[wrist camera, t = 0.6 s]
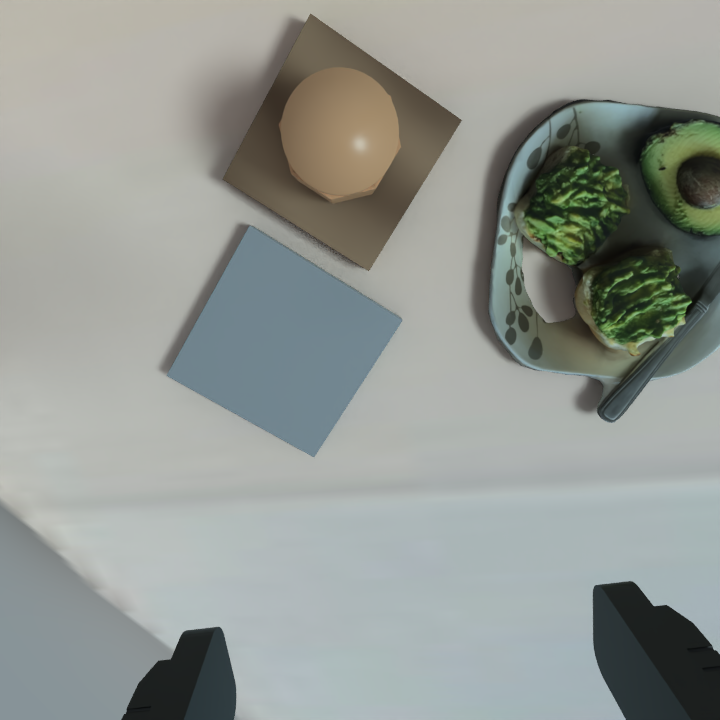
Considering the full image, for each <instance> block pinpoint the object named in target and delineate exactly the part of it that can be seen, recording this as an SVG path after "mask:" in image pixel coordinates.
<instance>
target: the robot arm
mask: <svg viewBox="0 0 720 720" xmlns="http://www.w3.org/2000/svg"><path fill="white" fill-rule="evenodd" d="M593 643H594V651H595V656H596V660H597V663H598V666H599V669H600V671H601V674H602V676H603V678H604V680H605V682H606V684H607V685H608V687H609V689H610V691H611V693H612V695H613V696H614V698H615V700H616V702H617V704H618V706H619V707H620V709H621V711H622V713H623V715H624V717H625V718H626V720H720V654H719V653H718V652H717V651H716V650H715V651H714V650H713V647H712V645H711V644H710V642H709V641H708V640H707V639H706V638H705V637H704V635H703V634H702V633H701V632H700V631H699V629H698V628H697V627H696V626H695V625H694V624H693V623H692V622H691V621H689V620H688V619H686V618H685V617H683V616H682V615H681V614H679V613H678V612H676V611H675V610H673V609H672V608H670V607H669V606H667V605H662V606H653V605H652V604H651V602H650V601H649V600H648V599H647V597H646V596H645V595H644V593H643V592H642V591H641V590H640V588H639V587H638V586H637V585H636V584H635V583H634V582H632V581H628V582H619V583H611V584H602V585H596V586H595V587H594V589H593ZM235 709H236V684H235V679H234V675H233V671H232V667H231V662H230V658H229V654H228V650H227V646H226V641H225V637H224V633H223V631H222V629H221V628H220V627H213V628H205V629H196V630H187V631H184V632H183V633H182V635H181V637H180V639H179V642H178V644H177V646H176V649H175V651H174V653H173V656H172V658H171V660H162V661H158V662H157V663H156V664H155V665H154V667H153V668H152V669H151V670H150V671H149V672H148V673H147V674H146V676H145V677H144V678H143V679H142V680H141V681H140V682H139V684H138V686H137V688H136V690H135V692H134V694H133V697H132V698H131V701H130V703H129V705H128V707H127V712H126V714H124V716H123V718H122V720H234V716H235Z"/></svg>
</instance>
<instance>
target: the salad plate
mask: <svg viewBox="0 0 720 720" xmlns="http://www.w3.org/2000/svg"><path fill="white" fill-rule="evenodd" d="M524 236H525V237H526V238H527V239H528V240H529V241H530V242H531V243H533V244H534V245H536V246H537V247H538V248H540V249H541V250H543V251H544V252H545V253H547V254H548V255H549V256H550V257H553V258H555V259H556V260H558V261H560V262H563V263H565V265H567V266H568V267H570V268H571V269H572V272H573V276H574V279H575V282H576V285H577V288H576V290H575V294H574V296H575V297H574V298H573V303H574V306H575V309H576V314H575V316H574V317H573V318H571V319H568V320H565V321H561V322H553V323H546V322H545V321H544V320H543V318H542V317H541V316H540V315H539V314H538V313H537V312H536V310H535V309H534V307H533V305H532V303H531V300H530V298H529V296H528V294H527V292H526V289H525V286H524V275H523V272H522V260H523V255H522V249H523V237H524ZM678 274H679V279H678V278H677V275H678ZM489 315H490V319H491V322H492V325H493V327H494V330H495V333H496V336H497V339H498V340H499V342H501V343H502V345H503V346H504V347H505V349H506V350H507V351H508V352H509V353H510V354H511V356H512V357H513V358H514V360H515V361H516V362H517V363H519V364H520V365H521V366H524V367H527V368H530V369H533V370H538V371H549V372H554V373H562V374H565V375H579V376H581V375H584V376H588V377H590V378H594V379H597V380H599V381H601V383H602V385H603V393H602V397H601V399H600V401H599V403H598V407H597V413H598V415H599V416H600V417H601V418H602V419H603V420H605V421H606V422H611V423H612V422H615V421H616V420H618V419H619V418H620V417H621V416H622V415H623V414H624V413H625V412H626V410H627V409H628V408H629V406H630V405H631V404H632V403H633V402H634V400H635V399H636V398H637V396H638V395H639V394H640V392H641V391H642V390H643V388H644V387H645V386H646V384H647V383H648V382H649V381H652V380H657V379H660V378H666V377H671V376H674V375H677V374H680V373H682V372H684V371H686V370H688V369H690V368H692V367H693V366H695V365H697V364H698V363H700V362H701V361H702V360H704V359H705V358H707V357H708V356H709V355H711V354H712V353H713V352H714V351H716V350H717V349H718V348H719V347H720V117H718V116H715V115H711V114H707V113H702V112H697V111H689V110H679V109H671V108H663V107H650V106H645V105H637V104H626V103H621V102H616V101H611V100H603V101H595V100H576V101H573V102H570V103H568V104H566V105H564V106H562V107H561V108H559V109H557V110H555V111H554V112H553V113H552V114H551V115H550V116H548V117H547V118H546V119H545V120H544V121H542V122H541V123H540V124H539V125H538V126H537V127H535V129H534V130H533V131H532V132H531V133H530V134H529V135H528V136H527V138H526V139H525V140H524V142H523V143H522V144H521V145H520V146H519V148H518V149H517V151H516V152H515V154H514V156H513V158H512V160H511V162H510V165H509V167H508V170H507V172H506V174H505V177H504V180H503V183H502V186H501V189H500V192H499V197H498V202H497V229H496V236H495V243H494V250H493V258H492V263H491V277H490V291H489Z"/></svg>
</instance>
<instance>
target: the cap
mask: <svg viewBox="0 0 720 720" xmlns="http://www.w3.org/2000/svg"><path fill="white" fill-rule="evenodd" d="M279 128H280V132H281V139H282V144H283V149H284V152H285V155H286V157H287V160H288V164H289V168H290V172H291V174H292V175H293V176H294V177H295V178H296V179H297V180H298V181H299V182H300V183H302V184H303V185H305V186H306V187H308V188H309V189H311V190H313V191H314V192H316V193H317V194H319V195H320V196H322V197H323V198H325V199H326V200H328V201H330V202H331V203H333V204H334V203H338V202H343V201H347V200H351V199H355V198H359V197H363V196H367V195H371V194H373V192H374V191H375V189H376V188H377V186H378V185H379V183H380V181H381V180H382V178H383V176H384V175H385V173H386V171H387V170H388V168H389V166H390V165H391V163H392V161H393V160H394V158H395V156H396V155H397V153H398V151H399V149H400V148H401V144H400V139H399V124H398V117H397V114H396V110H395V107H394V105H393V103H392V99H391V96H390V95H388V94H387V93H386V91H385V90H384V88H383V87H382V86H381V85H380V84H379V83H378V82H377V81H375V80H374V79H373V78H372V77H370V76H368V75H367V74H365V73H363V72H360V71H358V70H355V69H351V68H344V67H333V68H328V69H324V70H321V71H318V72H316V73H314V74H312V75H310V76H309V77H307V78H306V79H304V80H303V81H302V82H301V83H300V84H299V85H298V86H297V87H296V88H295V90H294V91H293V92H292V94H291V96H290V97H289V99H288V101H287V103H286V105H285V108H284V112H283V116H282V119H281V121H280V123H279Z"/></svg>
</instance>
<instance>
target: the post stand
mask: <svg viewBox="0 0 720 720" xmlns="http://www.w3.org/2000/svg"><path fill="white" fill-rule="evenodd" d="M333 67H344V68H351V69H355V70H358V71H360V72H363V73H365V74H367V75H368V76H370V77H372V78H373V79H374V80H375V81H377V82H378V83H379V84H380V85H381V86H382V87H383V88H384V90H385V91H386V93H387V94H388V95H390V96H391V99H392V103H393V105H394V107H395V110H396V114H397V117H398V124H399V139H400V144H401V148H400V149H399V151H398V153H397V155H396V156H395V158H394V160H393V161H392V163H391V165H390V166H389V168H388V170H387V171H386V173H385V175H384V176H383V178H382V180H381V181H380V183H379V185H378V186H377V188H376V189H375V191H374V192H373V194H371V195H367V196H363V197H359V198H355V199H351V200H347V201H343V202H338V203H334V204H333V203H331V202H330V201H328V200H326V199H325V198H323V197H322V196H320V195H319V194H317V193H316V192H314V191H313V190H311V189H309V188H308V187H306V186H305V185H303V184H302V183H300V182H299V181H298V180H297V179H296V178H295V177H294V176H293V175H292V174H291V172H290V168H289V164H288V160H287V157H286V155H285V152H284V149H283V144H282V139H281V132H280V128H279V123H280V121H281V119H282V116H283V112H284V108H285V105H286V103H287V101H288V99H289V97H290V96H291V94H292V92H293V91H294V90H295V88H296V87H297V86H298V85H299V84H300V83H301V82H302V81H303V80H304V79H306V78H307V77H309V76H310V75H312V74H314V73H316V72H318V71H321V70H324V69H328V68H333ZM461 121H462V120H461V119H459V118H458V117H456V116H455V115H454V114H452V113H451V112H449V111H448V110H447V109H445V108H444V107H442V106H441V105H439V104H438V103H437V102H435V101H434V100H432V99H431V98H430V97H428V96H427V95H425V94H424V93H422V92H421V91H420V90H418V89H417V88H415V87H414V86H412V85H411V84H410V83H408V82H407V81H405V80H404V79H403V78H401V77H400V76H398V75H397V74H395V73H394V72H393V71H391V70H390V69H388V68H387V67H386V66H384V65H383V64H381V63H380V62H378V61H377V60H376V59H374V58H373V57H371V56H370V55H368V54H367V53H366V52H364V51H363V50H361V49H360V48H359V47H357V46H356V45H354V44H353V43H351V42H350V41H349V40H347V39H346V38H344V37H343V36H342V35H340V34H339V33H337V32H336V31H334V30H333V29H332V28H330V27H329V26H327V25H326V24H324V23H323V22H322V21H320V20H319V19H317V18H316V17H315V16H313V15H312V14H310V15H309V17H308V19H307V21H306V23H305V25H304V27H303V29H302V30H301V32H300V34H299V36H298V38H297V40H296V42H295V44H294V46H293V47H292V49H291V51H290V53H289V55H288V57H287V59H286V61H285V62H284V64H283V66H282V68H281V70H280V72H279V74H278V76H277V78H276V79H275V81H274V83H273V85H272V87H271V89H270V91H269V93H268V95H267V96H266V98H265V100H264V102H263V104H262V106H261V108H260V110H259V111H258V113H257V115H256V117H255V119H254V121H253V123H252V125H251V127H250V128H249V130H248V132H247V134H246V136H245V138H244V140H243V142H242V144H241V145H240V147H239V149H238V151H237V153H236V155H235V157H234V159H233V160H232V162H231V164H230V166H229V168H228V170H227V172H226V174H225V176H224V177H223V180H225V181H226V182H228V183H229V184H231V185H233V186H234V187H236V188H237V189H239V190H241V191H242V192H244V193H245V194H247V195H249V196H250V197H252V198H253V199H255V200H256V201H258V202H260V203H261V204H263V205H264V206H266V207H268V208H269V209H271V210H272V211H274V212H276V213H277V214H279V215H280V216H282V217H284V218H285V219H287V220H288V221H290V222H291V223H293V224H295V225H296V226H298V227H299V228H301V229H303V230H304V231H306V232H307V233H309V234H311V235H312V236H314V237H315V238H317V239H318V240H320V241H322V242H323V243H325V244H326V245H328V246H330V247H331V248H333V249H334V250H336V251H338V252H339V253H341V254H342V255H344V256H345V257H347V258H349V259H350V260H352V261H353V262H355V263H357V264H358V265H360V266H361V267H363V268H365V269H366V270H368V271H369V270H370V268H371V267H372V265H373V263H374V262H375V260H376V259H377V257H378V255H379V254H380V252H381V250H382V249H383V247H384V246H385V244H386V242H387V241H388V239H389V237H390V236H391V234H392V233H393V231H394V229H395V228H396V226H397V224H398V223H399V221H400V220H401V218H402V216H403V215H404V213H405V212H406V210H407V208H408V207H409V205H410V203H411V202H412V200H413V199H414V197H415V195H416V194H417V192H418V190H419V189H420V187H421V186H422V184H423V182H424V181H425V179H426V178H427V176H428V174H429V173H430V171H431V169H432V168H433V166H434V165H435V163H436V161H437V160H438V158H439V156H440V155H441V153H442V152H443V150H444V148H445V147H446V145H447V143H448V142H449V140H450V139H451V137H452V135H453V134H454V132H455V131H456V129H457V127H458V126H459V124H460V122H461Z"/></svg>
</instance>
